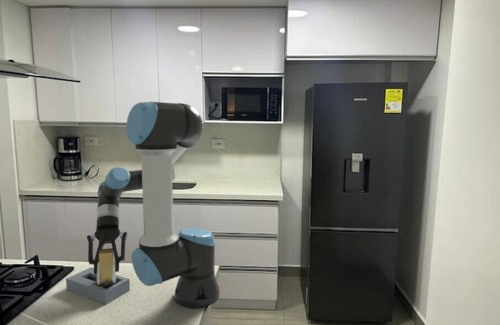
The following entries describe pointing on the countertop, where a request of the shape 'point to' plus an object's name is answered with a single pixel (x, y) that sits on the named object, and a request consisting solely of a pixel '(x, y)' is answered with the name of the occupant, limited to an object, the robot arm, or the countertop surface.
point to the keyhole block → (87, 286)
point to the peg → (106, 267)
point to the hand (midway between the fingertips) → (106, 282)
